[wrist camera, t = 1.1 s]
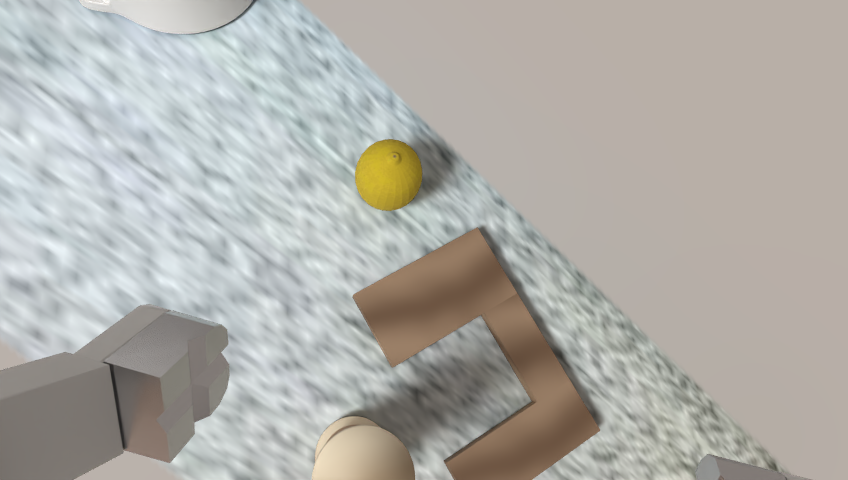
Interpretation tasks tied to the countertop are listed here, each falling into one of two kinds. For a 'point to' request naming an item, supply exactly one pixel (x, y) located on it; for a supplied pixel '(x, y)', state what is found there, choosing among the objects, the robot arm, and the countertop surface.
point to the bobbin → (361, 453)
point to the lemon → (388, 175)
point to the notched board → (515, 334)
